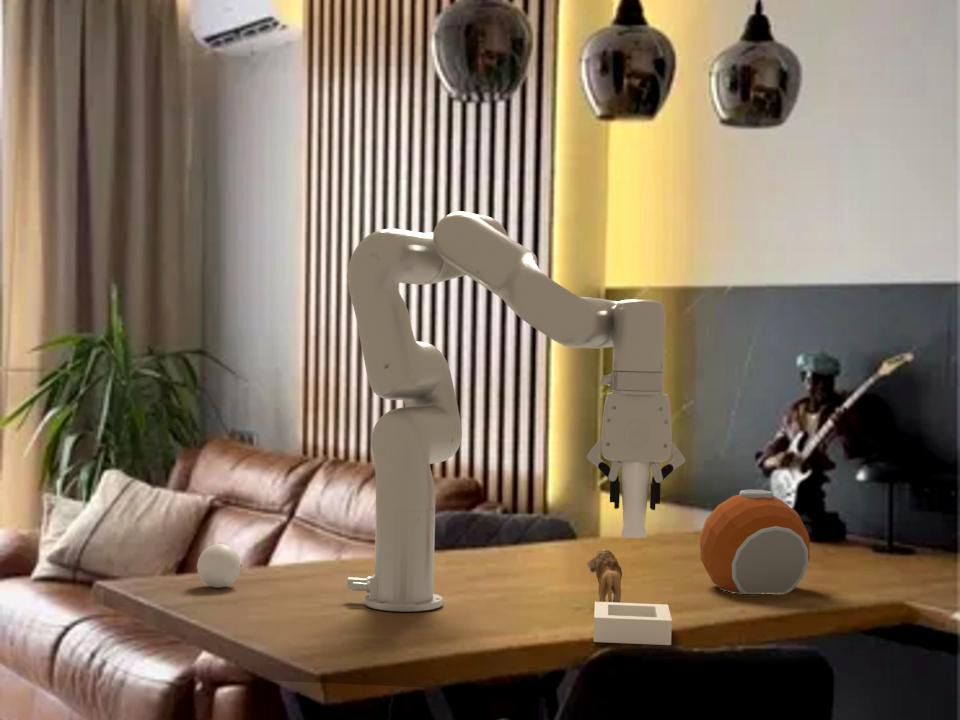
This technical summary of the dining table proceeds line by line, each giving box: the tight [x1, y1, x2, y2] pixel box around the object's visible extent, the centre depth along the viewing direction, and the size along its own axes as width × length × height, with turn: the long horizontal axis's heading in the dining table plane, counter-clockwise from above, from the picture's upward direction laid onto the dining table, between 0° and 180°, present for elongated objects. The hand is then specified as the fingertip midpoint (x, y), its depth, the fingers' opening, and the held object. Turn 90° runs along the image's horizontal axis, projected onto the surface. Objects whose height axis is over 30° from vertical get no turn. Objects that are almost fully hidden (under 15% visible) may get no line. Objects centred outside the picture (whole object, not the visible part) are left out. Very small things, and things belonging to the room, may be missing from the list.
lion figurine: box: [586, 548, 623, 603], centre depth 222 cm, size 15×5×9 cm, turn 6°
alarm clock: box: [699, 489, 811, 595], centre depth 244 cm, size 19×18×17 cm
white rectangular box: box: [593, 601, 673, 646], centre depth 204 cm, size 11×12×4 cm
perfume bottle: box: [620, 462, 652, 539], centre depth 204 cm, size 5×4×15 cm
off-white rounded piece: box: [196, 543, 243, 589], centre depth 235 cm, size 10×7×7 cm
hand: (634, 507), depth 204 cm, fingers closed on perfume bottle, 4 cm apart
